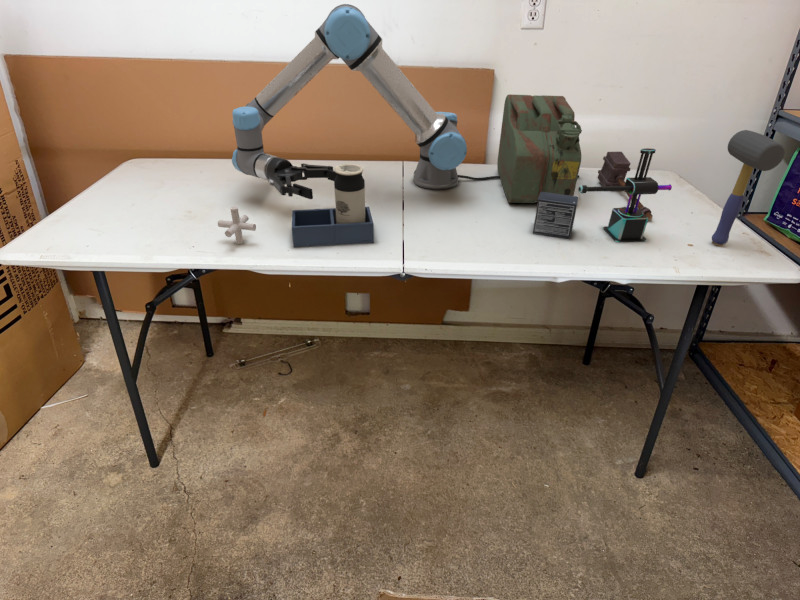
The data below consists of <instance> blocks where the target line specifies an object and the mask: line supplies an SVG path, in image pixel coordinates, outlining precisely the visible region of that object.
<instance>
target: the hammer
mask: <svg viewBox="0 0 800 600" xmlns="http://www.w3.org/2000/svg"><path fill="white" fill-rule="evenodd" d="M602 160H603V165H602V167H601V169H598V170H597V173H598V175H597V180H598V182H599V183H600V186H601V187H603V186H625V183H626V180H625V179H626V178H627V177H626V176H627V173H628V172H630V171H631V167H630V166H631V162H630V161H629V159H628V158H627V157H626V155H625V154H624V153H623V151H607V153H606V155H604V156H603V158H602ZM624 192H625V194H626V195H627V196H628V198H629V197H630V194H629V193H628V192H627V191H624ZM632 198H633V195H632ZM632 198H631V201H632ZM637 199H638V198H637ZM637 199H636V202H637ZM635 206H636V203H635ZM637 208H638V209H639V210H640V211H642V212H643V214H645V215H646V216H647V217H648V221H651V220H652V219H653V217H654V216H653V213H652V211H651V209H650V208H649V207H647V206H644V205H643V204H642V202H641V201H640V200H639V203H638V207H637Z"/></svg>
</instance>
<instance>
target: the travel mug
mask: <svg viewBox="0 0 800 600" xmlns="http://www.w3.org/2000/svg"><path fill="white" fill-rule="evenodd" d="M333 171H335V172H336V178H335V180H334V181H333V186H334V188H333V189H334V205H335V206H334V208H336V224H347V223H365V207H366V186H365V185H366V183H365V182H366V179H365V178H364V176H363V172H364V167H363V166H361V165H359V164H355V163H344V164H343V163H342V164H338V165H337V166H335V167H334V168H333Z"/></svg>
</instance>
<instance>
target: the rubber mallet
mask: <svg viewBox="0 0 800 600" xmlns="http://www.w3.org/2000/svg"><path fill="white" fill-rule="evenodd" d="M785 151H786V149H785V147H784V145H783V144H781V143H779V142H778V141H776V140H774V139H772V138H770V137H769V136H767V135H764V134H762V133H758V132H756V131H753V130H749V129H744V130H740V131H738V132H736V133H735V134H734V135H732V137H730V139H729V141H728V143H727V152H728V153H729V154H730V156H732V157H733V158H734V159H736V160H738V161H740V163H742V164H743V165H742V167H741V170H740V172H739V175H738V177H737V179H736V182H735V184H734V187H733V189H732V192H731V193H730V194H729V196H728V198H727V200H726V201H725V203H724V206H723V208H722V210H721V215H720V219H719V222H718V223H717V226H716V229H715V231H714V233H713V234H712V235H711V241H712V244H713V245H715V246H718V247H722V246H725V245H726V244H727V243H728V241H729V238H730V232H731V230H732V228H733V225H734V222H735V220H736V219H737V217H738V215H739V213H740V211H741V208H742V204H743V201H744V194H745V192H746V188H747V186H748V184H749V181H750V178H751V176H752V174H753V171H754V169H756V170H757V171H758V170H759V171H761V172H762V171H763V172H768V171H771V170H773V169H775V168H776V167H778V166H779V165H780V164H781V163H782V161H783V159H784V157H785V153H786V152H785Z"/></svg>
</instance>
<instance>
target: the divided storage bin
mask: <svg viewBox="0 0 800 600" xmlns="http://www.w3.org/2000/svg"><path fill="white" fill-rule="evenodd" d="M374 224H375V223H374V220H373V216H372V213H371V208H370V206H365V223H347V224H336V207H331V208H311V209H308V208H307V209H292V210H291V236H292V244H293V248H306V247H307V248H309V247H322V246H323V247H324V246H339V245H341V246H342V245H358V244H374V242H375V237H374V235H375V234H374V233H375V232H374V229H375V228H374Z"/></svg>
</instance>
